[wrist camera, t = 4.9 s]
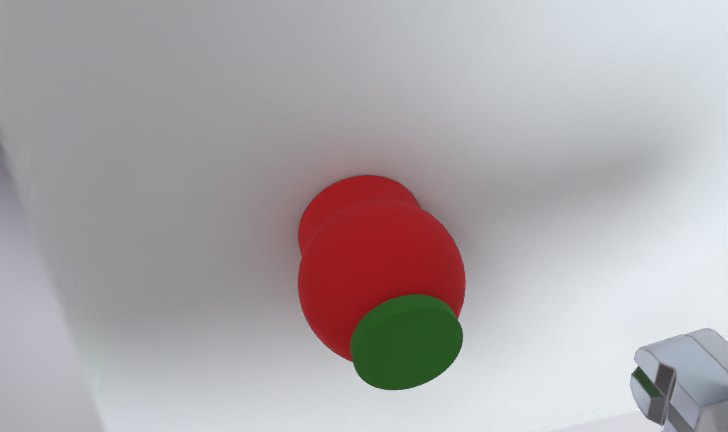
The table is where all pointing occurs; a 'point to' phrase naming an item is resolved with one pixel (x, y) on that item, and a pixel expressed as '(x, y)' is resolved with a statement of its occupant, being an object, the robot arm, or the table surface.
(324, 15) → the table surface
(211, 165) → the table surface
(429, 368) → the strawberry
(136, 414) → the table surface
